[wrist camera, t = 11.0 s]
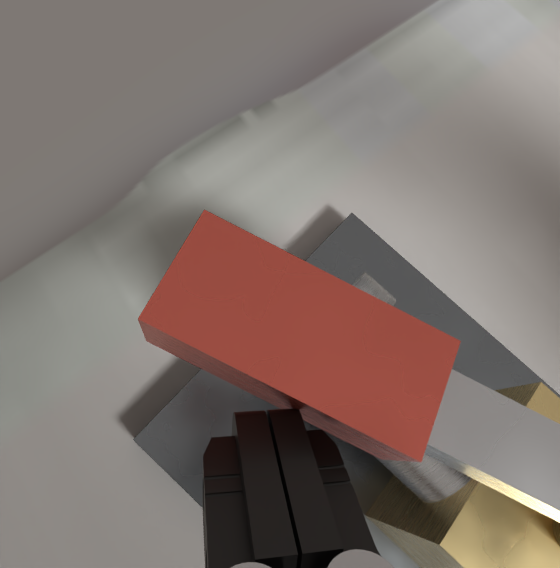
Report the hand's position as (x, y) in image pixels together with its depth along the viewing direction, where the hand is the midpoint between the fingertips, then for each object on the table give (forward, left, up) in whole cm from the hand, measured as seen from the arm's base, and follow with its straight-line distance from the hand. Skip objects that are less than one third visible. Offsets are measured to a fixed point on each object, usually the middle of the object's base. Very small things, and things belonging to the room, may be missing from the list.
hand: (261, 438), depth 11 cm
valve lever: (-5, 0, 0) cm, 5 cm away
